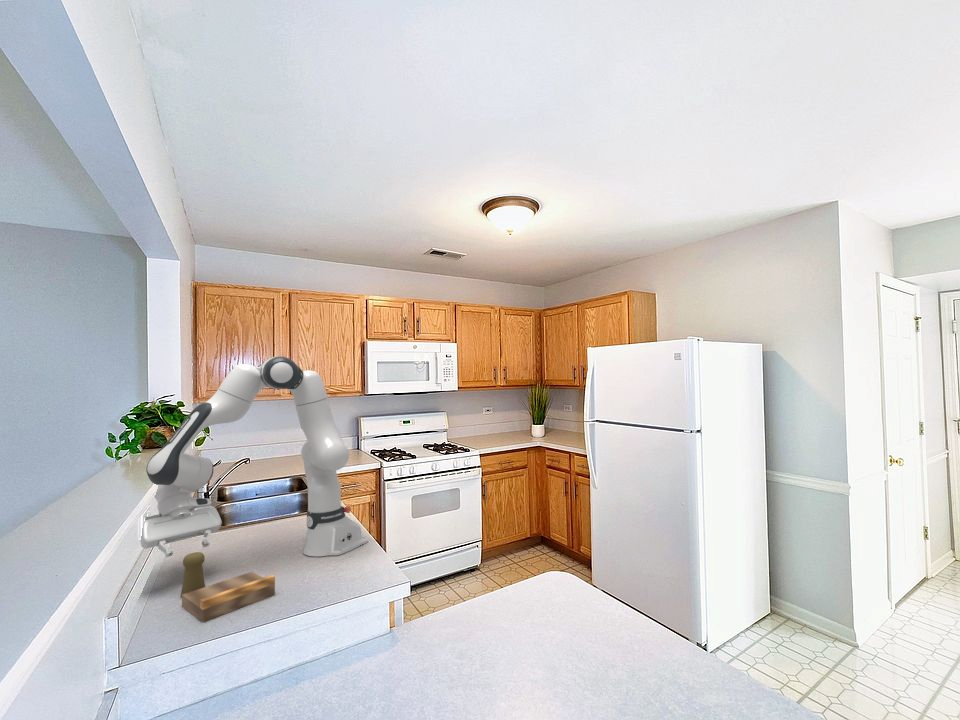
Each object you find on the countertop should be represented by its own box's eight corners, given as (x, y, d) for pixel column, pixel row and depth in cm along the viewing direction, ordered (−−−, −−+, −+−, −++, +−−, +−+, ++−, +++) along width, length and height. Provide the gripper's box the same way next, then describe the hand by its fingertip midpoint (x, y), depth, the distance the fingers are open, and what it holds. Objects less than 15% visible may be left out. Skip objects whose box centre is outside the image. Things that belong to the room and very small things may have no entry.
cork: (193, 599, 122) (194, 558, 123) (175, 598, 123) (175, 557, 124) (211, 589, 128) (211, 550, 129) (193, 588, 129) (193, 549, 130)
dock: (251, 582, 132) (251, 564, 133) (274, 594, 124) (274, 576, 124) (181, 606, 118) (182, 586, 119) (202, 622, 109) (202, 601, 110)
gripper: (137, 512, 127) (147, 555, 120) (216, 497, 143) (228, 534, 136) (132, 525, 129) (142, 568, 123) (210, 509, 145) (222, 546, 138)
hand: (188, 550), depth 129 cm, fingers open, 8 cm apart
